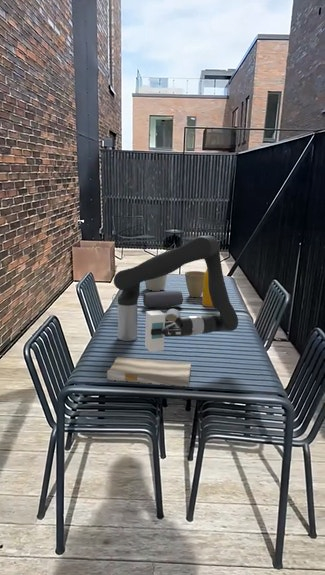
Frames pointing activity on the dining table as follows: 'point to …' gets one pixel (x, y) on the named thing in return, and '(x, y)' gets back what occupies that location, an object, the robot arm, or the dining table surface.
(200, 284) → the plant pot
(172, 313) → the ceramic mug
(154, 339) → the carton
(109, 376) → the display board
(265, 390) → the dining table surface
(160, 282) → the canister
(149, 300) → the bluetooth speaker
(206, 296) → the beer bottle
